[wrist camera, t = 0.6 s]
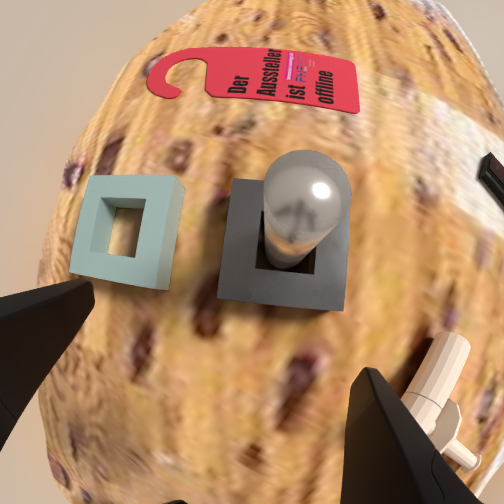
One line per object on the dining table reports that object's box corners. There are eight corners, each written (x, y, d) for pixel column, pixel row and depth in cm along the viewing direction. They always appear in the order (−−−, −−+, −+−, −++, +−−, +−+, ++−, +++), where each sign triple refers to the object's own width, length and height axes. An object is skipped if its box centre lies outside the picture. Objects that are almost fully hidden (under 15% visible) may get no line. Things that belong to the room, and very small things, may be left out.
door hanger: (360, 115, 24) (135, 100, 26) (359, 118, 24) (137, 102, 26) (354, 61, 25) (161, 51, 27) (353, 64, 26) (162, 53, 27)
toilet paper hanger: (356, 430, 18) (404, 456, 12) (419, 332, 22) (472, 329, 15) (440, 478, 18) (473, 491, 11) (481, 409, 21) (516, 414, 15)
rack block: (168, 290, 22) (155, 289, 19) (87, 275, 23) (69, 272, 20) (185, 189, 23) (175, 175, 20) (105, 186, 24) (89, 175, 21)
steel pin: (281, 276, 22) (304, 251, 9) (257, 246, 22) (245, 181, 9) (311, 252, 22) (368, 197, 9) (287, 222, 22) (310, 136, 10)
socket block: (333, 309, 21) (343, 311, 18) (223, 297, 22) (216, 298, 19) (340, 203, 22) (349, 191, 20) (237, 192, 23) (233, 178, 20)
